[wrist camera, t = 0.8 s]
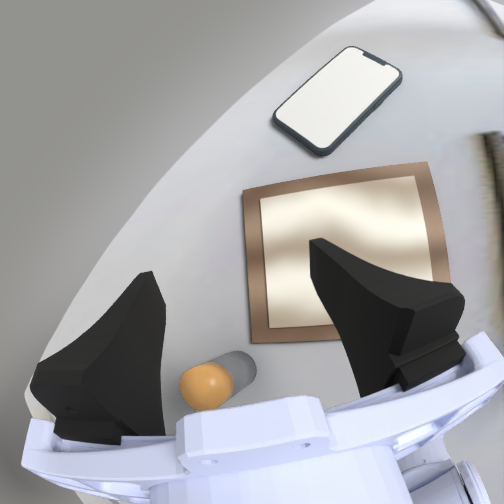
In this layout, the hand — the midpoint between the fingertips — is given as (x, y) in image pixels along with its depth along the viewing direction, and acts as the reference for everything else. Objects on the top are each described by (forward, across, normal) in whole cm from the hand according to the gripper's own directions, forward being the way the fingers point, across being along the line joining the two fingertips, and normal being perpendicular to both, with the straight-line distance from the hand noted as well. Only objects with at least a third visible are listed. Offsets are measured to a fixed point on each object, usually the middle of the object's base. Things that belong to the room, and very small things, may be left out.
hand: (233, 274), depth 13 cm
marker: (+8, +2, +18) cm, 19 cm away
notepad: (+10, -10, +8) cm, 17 cm away
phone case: (+22, -16, -6) cm, 27 cm away
